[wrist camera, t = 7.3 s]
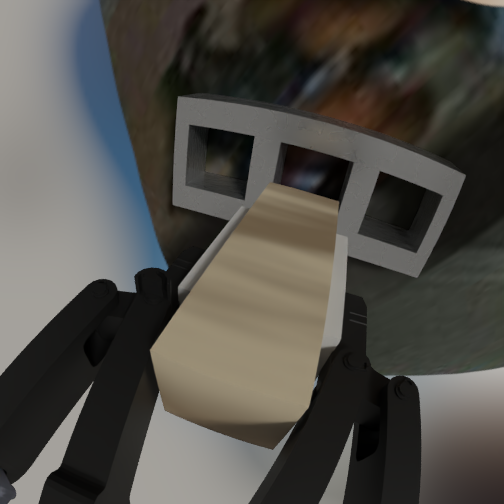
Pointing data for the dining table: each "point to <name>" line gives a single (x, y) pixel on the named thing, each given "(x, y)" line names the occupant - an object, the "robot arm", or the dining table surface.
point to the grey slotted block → (322, 140)
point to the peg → (254, 322)
